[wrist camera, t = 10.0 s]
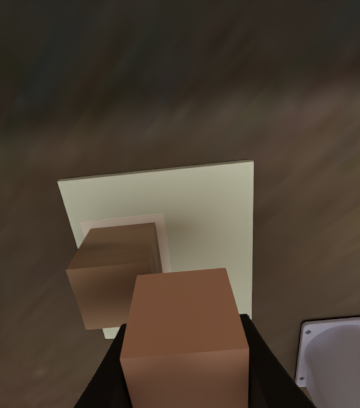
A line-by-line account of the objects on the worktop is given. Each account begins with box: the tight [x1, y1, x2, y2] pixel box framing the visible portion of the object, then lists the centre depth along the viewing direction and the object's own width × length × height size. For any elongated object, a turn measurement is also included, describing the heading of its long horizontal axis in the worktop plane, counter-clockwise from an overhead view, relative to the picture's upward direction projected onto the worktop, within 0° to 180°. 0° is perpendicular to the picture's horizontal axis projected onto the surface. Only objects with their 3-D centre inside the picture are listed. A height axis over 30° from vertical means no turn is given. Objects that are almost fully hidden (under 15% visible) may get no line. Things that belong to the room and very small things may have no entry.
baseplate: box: [58, 160, 254, 339], centre depth 22 cm, size 16×14×1 cm
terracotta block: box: [120, 268, 249, 408], centre depth 11 cm, size 4×4×4 cm
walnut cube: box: [66, 222, 163, 330], centre depth 19 cm, size 5×5×5 cm
